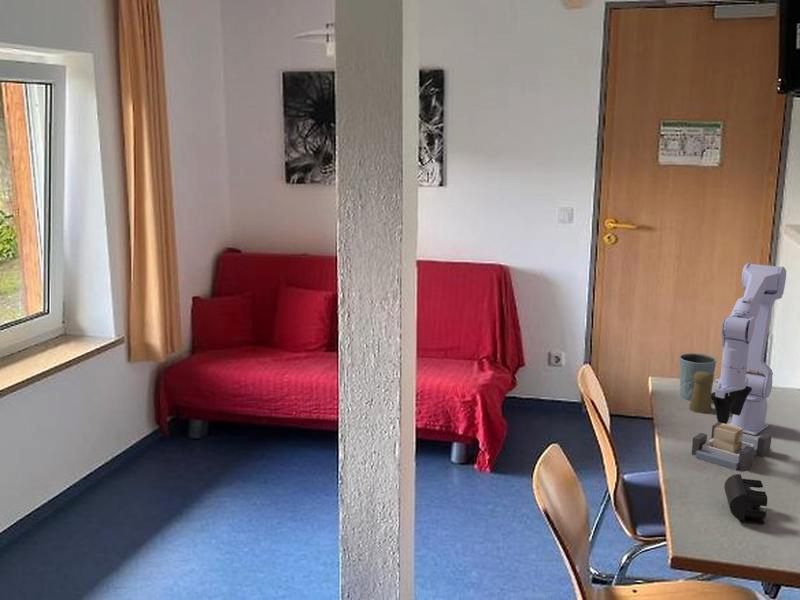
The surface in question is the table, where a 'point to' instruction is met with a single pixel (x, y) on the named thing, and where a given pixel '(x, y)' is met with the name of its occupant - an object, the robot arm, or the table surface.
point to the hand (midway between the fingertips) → (729, 418)
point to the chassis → (729, 459)
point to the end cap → (745, 499)
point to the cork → (701, 392)
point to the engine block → (728, 438)
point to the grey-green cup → (694, 371)
